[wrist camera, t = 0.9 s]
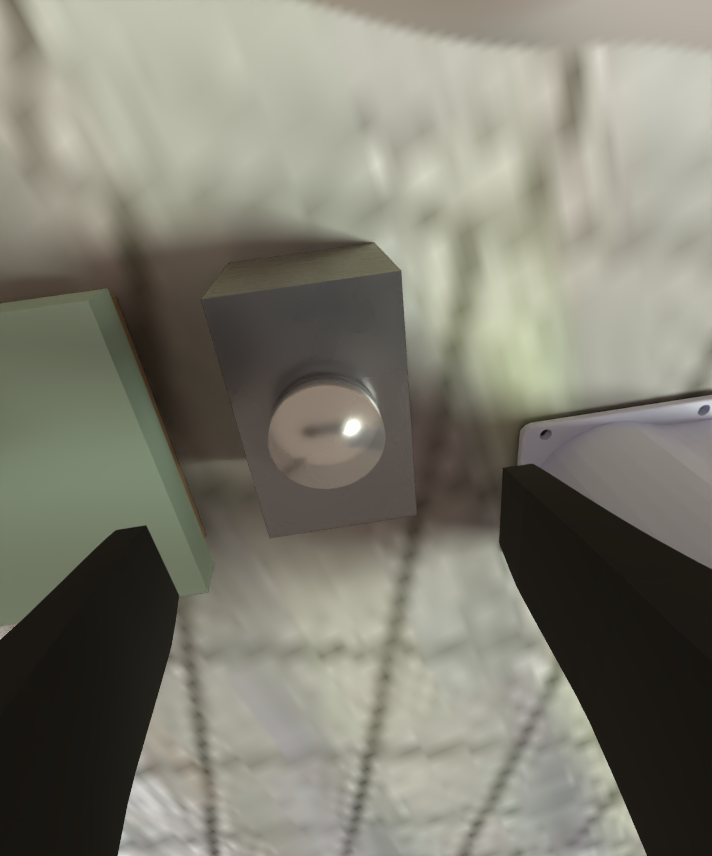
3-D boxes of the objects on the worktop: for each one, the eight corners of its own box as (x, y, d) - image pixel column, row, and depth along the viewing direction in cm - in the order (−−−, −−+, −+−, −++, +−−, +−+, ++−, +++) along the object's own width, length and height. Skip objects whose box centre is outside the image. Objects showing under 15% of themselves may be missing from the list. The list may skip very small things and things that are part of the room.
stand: (124, 277, 15) (87, 300, 13) (219, 540, 21) (208, 592, 19) (-245, 329, 15) (-359, 363, 12) (-41, 581, 21) (-90, 640, 18)
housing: (374, 242, 16) (409, 279, 10) (391, 438, 20) (423, 535, 15) (229, 262, 16) (192, 310, 10) (276, 456, 20) (267, 560, 14)
